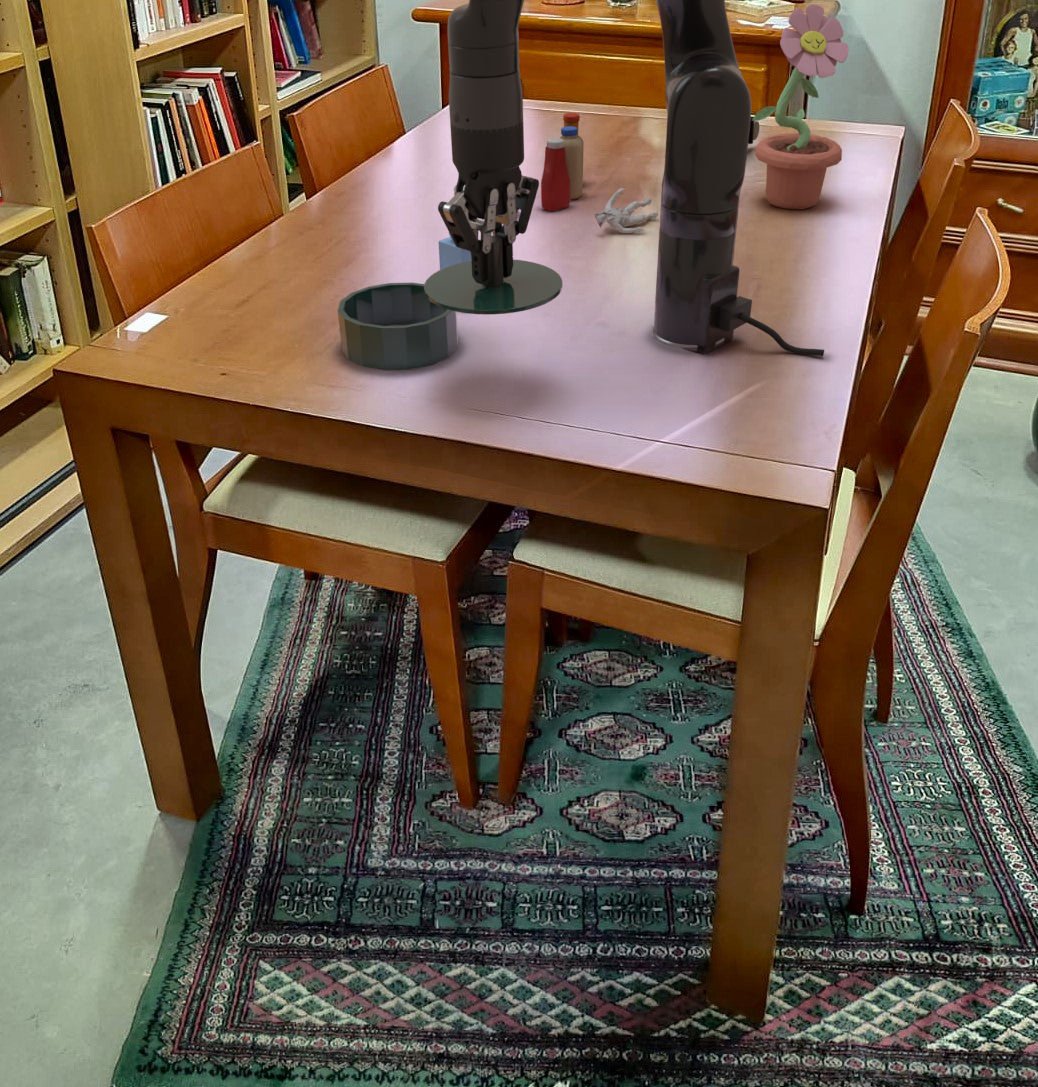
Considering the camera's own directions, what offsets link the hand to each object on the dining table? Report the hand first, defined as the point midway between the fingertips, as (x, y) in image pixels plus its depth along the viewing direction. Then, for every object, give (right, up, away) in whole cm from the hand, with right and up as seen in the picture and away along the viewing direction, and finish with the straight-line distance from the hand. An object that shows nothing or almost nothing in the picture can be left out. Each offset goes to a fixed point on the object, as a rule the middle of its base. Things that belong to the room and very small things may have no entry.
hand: (493, 278), depth 125 cm
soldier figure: (+20, +21, +55) cm, 62 cm away
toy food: (+5, +28, +66) cm, 72 cm away
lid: (0, -1, +1) cm, 1 cm away
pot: (-12, -5, +17) cm, 22 cm away
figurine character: (+42, +43, +87) cm, 106 cm away
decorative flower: (+48, +27, +63) cm, 84 cm away
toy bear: (-5, +4, +30) cm, 31 cm away
